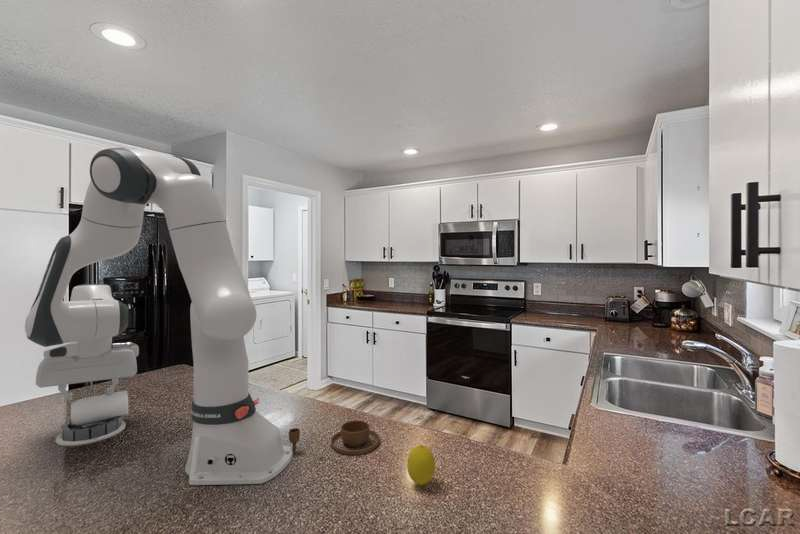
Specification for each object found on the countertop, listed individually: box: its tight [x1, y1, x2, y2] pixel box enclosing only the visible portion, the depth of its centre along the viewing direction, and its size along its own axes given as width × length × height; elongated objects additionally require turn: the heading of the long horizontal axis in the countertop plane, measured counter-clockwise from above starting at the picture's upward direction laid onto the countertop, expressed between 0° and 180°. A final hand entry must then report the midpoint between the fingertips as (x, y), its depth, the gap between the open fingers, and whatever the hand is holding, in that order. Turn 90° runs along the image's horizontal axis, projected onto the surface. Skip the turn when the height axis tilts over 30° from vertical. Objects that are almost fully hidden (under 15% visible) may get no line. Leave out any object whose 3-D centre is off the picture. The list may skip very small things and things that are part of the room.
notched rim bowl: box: [55, 415, 127, 447], centre depth 97 cm, size 14×14×3 cm
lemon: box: [406, 444, 436, 486], centre depth 74 cm, size 6×6×8 cm
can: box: [69, 390, 130, 426], centre depth 98 cm, size 6×6×12 cm
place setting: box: [288, 420, 380, 461], centre depth 92 cm, size 18×20×6 cm
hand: (89, 397), depth 97 cm, fingers open, 7 cm apart
